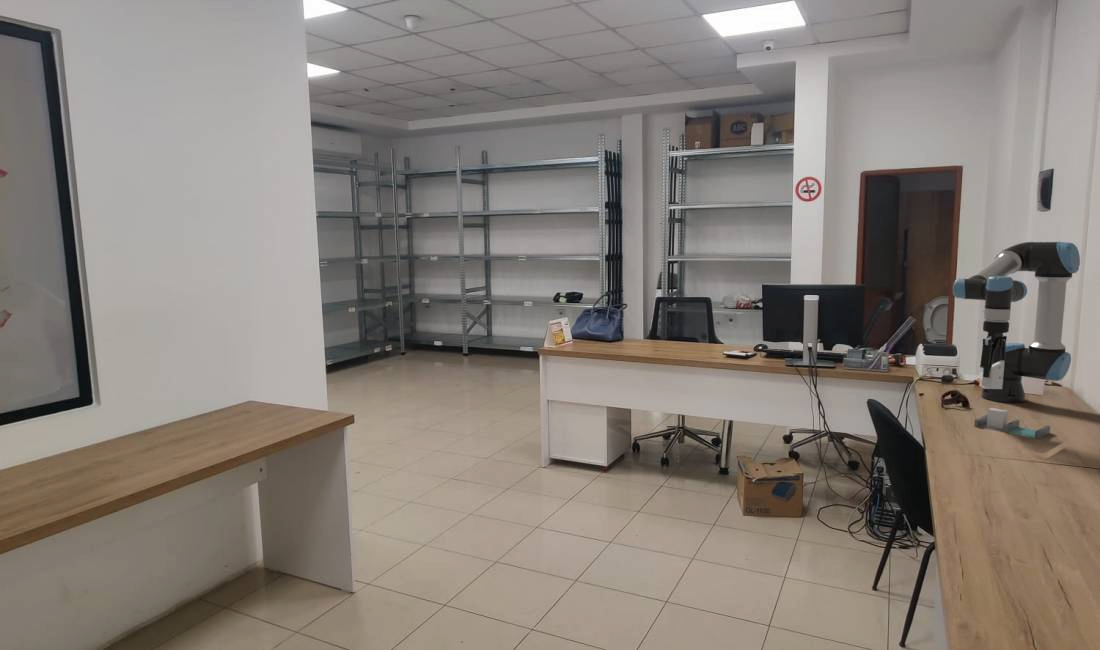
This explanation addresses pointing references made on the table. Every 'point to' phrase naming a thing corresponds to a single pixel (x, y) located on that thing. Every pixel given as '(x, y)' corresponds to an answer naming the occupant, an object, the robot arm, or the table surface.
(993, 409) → the white rectangular block
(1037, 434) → the two-compartment cubby shelf
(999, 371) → the white wedge bracket
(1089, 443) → the table surface
